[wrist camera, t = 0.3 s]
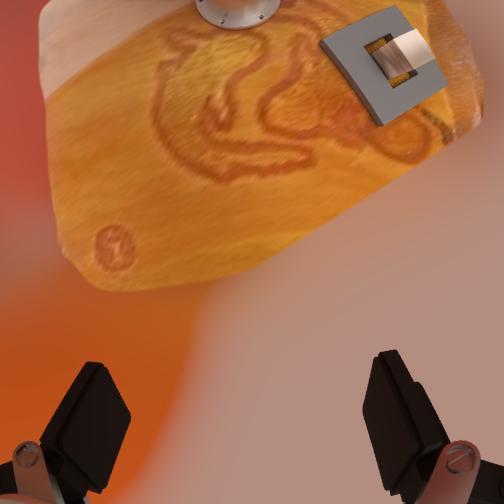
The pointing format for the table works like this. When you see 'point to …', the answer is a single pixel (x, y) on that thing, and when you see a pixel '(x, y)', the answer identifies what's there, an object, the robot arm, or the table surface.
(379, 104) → the charcoal pocket board
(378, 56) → the off-white block
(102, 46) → the table surface
